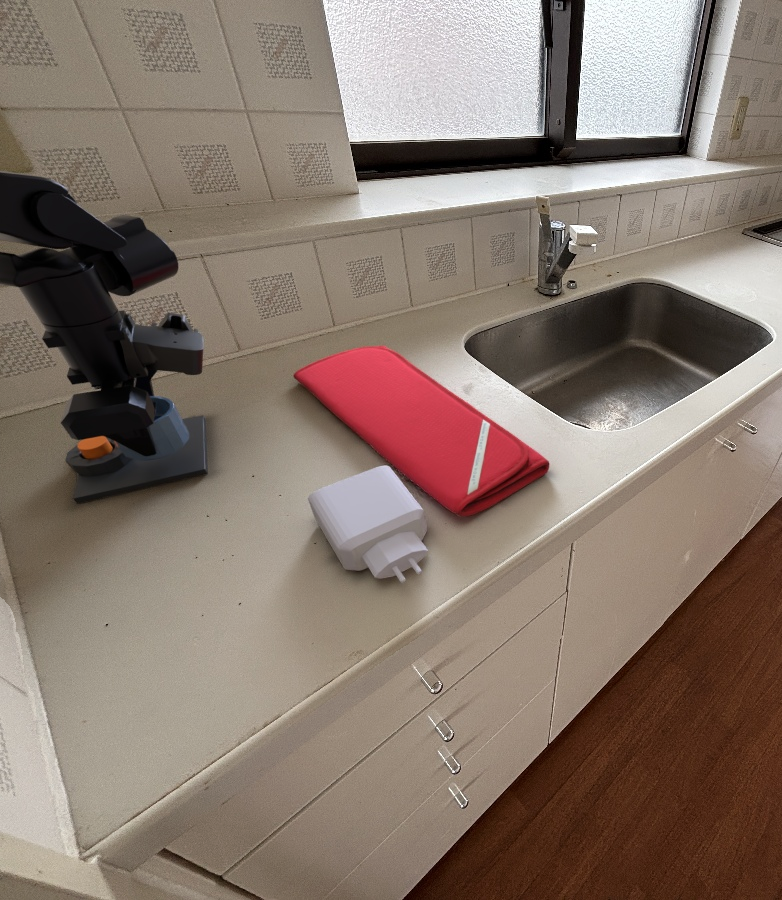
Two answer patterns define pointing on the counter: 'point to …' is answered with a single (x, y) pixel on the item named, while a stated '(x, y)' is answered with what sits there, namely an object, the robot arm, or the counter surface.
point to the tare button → (95, 447)
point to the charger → (372, 523)
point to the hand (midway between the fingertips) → (152, 438)
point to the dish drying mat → (423, 428)
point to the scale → (138, 467)
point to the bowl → (163, 431)
